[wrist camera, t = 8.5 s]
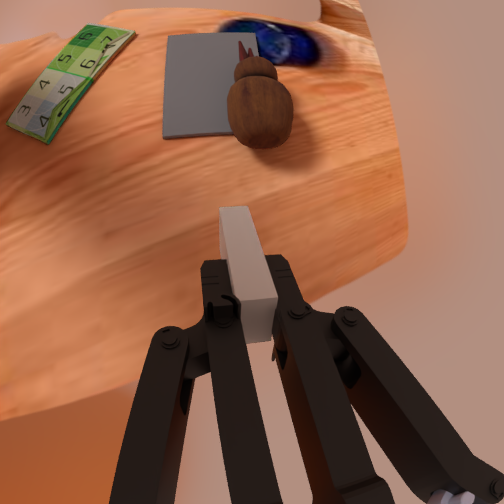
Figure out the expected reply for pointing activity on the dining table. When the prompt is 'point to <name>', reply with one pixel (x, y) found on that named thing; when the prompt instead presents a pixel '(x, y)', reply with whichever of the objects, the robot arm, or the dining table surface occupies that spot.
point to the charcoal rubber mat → (200, 82)
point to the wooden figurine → (258, 103)
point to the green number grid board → (67, 80)
